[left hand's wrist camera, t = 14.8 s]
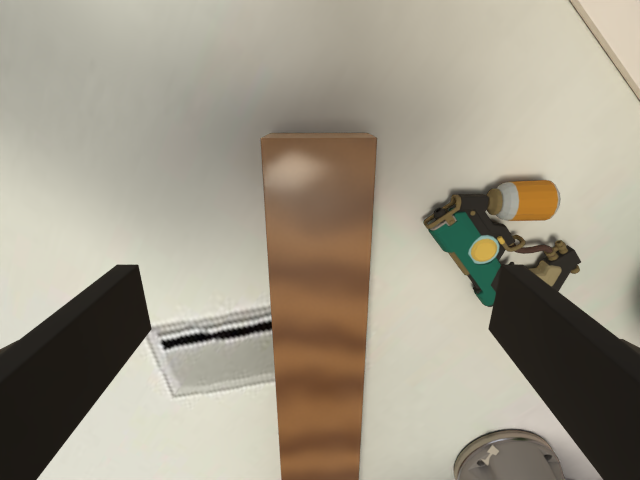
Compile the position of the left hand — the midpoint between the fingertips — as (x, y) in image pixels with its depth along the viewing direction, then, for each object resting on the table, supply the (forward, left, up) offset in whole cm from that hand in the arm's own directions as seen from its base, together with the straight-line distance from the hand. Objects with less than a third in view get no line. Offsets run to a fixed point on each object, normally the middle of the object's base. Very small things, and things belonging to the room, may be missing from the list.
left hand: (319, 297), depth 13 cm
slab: (+32, -7, -27) cm, 42 cm away
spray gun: (+12, +19, -27) cm, 35 cm away
